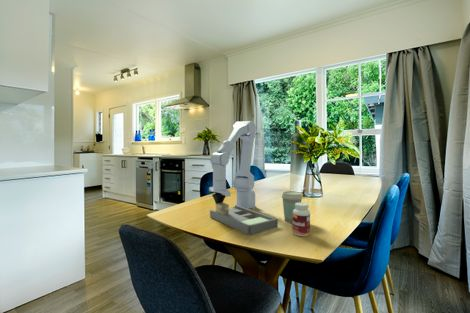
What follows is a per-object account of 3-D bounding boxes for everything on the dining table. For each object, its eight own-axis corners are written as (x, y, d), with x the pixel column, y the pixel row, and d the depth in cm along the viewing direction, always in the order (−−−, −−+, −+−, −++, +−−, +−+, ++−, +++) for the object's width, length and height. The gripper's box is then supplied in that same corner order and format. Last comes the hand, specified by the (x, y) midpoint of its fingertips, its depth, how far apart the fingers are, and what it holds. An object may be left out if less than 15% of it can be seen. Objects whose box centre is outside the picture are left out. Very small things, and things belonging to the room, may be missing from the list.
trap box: (236, 211, 118) (236, 205, 118) (277, 227, 97) (277, 219, 96) (210, 217, 110) (210, 210, 109) (249, 235, 88) (249, 226, 88)
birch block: (223, 210, 111) (223, 202, 111) (228, 213, 108) (228, 204, 108) (215, 212, 109) (216, 203, 108) (220, 215, 106) (221, 206, 105)
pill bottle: (289, 234, 89) (289, 204, 89) (296, 229, 94) (297, 201, 93) (305, 238, 85) (306, 206, 85) (312, 233, 90) (313, 203, 89)
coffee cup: (302, 218, 107) (303, 191, 107) (301, 225, 99) (301, 195, 99) (282, 217, 110) (283, 190, 109) (280, 222, 102) (280, 194, 101)
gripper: (203, 178, 113) (203, 207, 114) (220, 182, 101) (220, 214, 102) (216, 177, 117) (216, 205, 118) (234, 181, 105) (234, 212, 106)
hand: (219, 209), depth 110 cm, fingers closed, pressing on birch block
